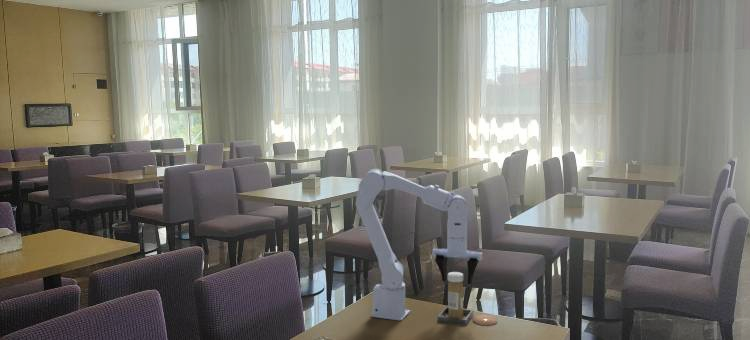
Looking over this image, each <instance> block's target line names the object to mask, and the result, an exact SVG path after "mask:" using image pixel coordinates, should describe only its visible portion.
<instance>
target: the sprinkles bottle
mask: <svg viewBox="0 0 750 340" xmlns="http://www.w3.org/2000/svg"><path fill="white" fill-rule="evenodd" d="M463 282H464V273H462V272H459V271H452V272H448V273H447V285H448V288H447V302H448V303H447V307H448V311H449V312H447V313H448V315H447V317H452V318H459V319H464V314H463V309H464V292H463V291H464V286H463V285H464V284H463Z"/></svg>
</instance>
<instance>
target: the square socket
mask: <svg viewBox="0 0 750 340" xmlns="http://www.w3.org/2000/svg"><path fill="white" fill-rule="evenodd" d="M448 312H449V311H448V306H445V307H444V308H443V309H442V310H441V312H440V313H438V315H437V322H441V323H446V324H447V323H448V324H454V325H461V326H462V325H463V326H467V324H469V322H470V320H471V318H473V317H474V310H473V309H468V308H463V316H465V315H466V317H465V318H463V319H459V318H452V317H448V316H446V314H447V313H448Z"/></svg>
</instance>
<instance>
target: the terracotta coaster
mask: <svg viewBox="0 0 750 340" xmlns="http://www.w3.org/2000/svg"><path fill="white" fill-rule="evenodd" d="M472 322H473V323H474V324H477V325H481V326H493V325H496V324H497V323H498V318H497V316H494V315H490V314H477V315H473V316H472Z"/></svg>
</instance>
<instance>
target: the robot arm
mask: <svg viewBox="0 0 750 340" xmlns="http://www.w3.org/2000/svg"><path fill="white" fill-rule="evenodd" d="M383 188H384V191H389V190H393V189H395V190H399V191H402V192H404V193H408V194H410V195H412V196H416V197H419V198H420V199H421V202H422V204H424V205H426V206H427V205H428V206H430V207H433V208H435V209H438V210H439V211H442V212H447V221H446V224H447V225H446V226H447V229H446V230H447V231H446V232H447V233H446V235H447V236H446V237H447V239H446V240H447V245H446V246H447V247H446V248H433V249H432V257H435V259H434V261H435V263H436V266H437V267H438V270H439V272H440V275H441V280H442V282H446V281H448V273H447V269H448V268H447V267H448V265H447V264H448V258H452V259H453V258H455V259H465V260H466V259H467V261H466V262H467V285H471V284H472V283H473V277H474V274H475V270H476V268H477V266H478V264H479V262H480V261H483V252H481V251H474V250H468V221H467V217H468V216H467V213H468V211H469V206H468V203H467V201H466V199H465V197H464V196H462V195H460V193H455V192H454V191H448V190H445V189H443V188H440V185H438V184H434V185H432V184H429V185H427V186H422V185H420V184H419V183H416V182H413V181H411V180H410V179H407V178H404V177H401V176H399V175H397V174H395V173H392V172H389V171H386V170H385V171H383V170H381V169H380V168H372V169H371V168H370V169H369V170H368V171H367V172H366V173H365V175H363V177H362V179H361V181H360V183H359V184H358V190H357V195H356V200H355V207H356V209H357V211H358V214H359V216H360V219H361V221H362V224H363V227H364V229H365V231H366V234H367V235H368V239H369V241H370V243H371V245H372V249H373V250H374V253H375V256H376V258H377V262H378V266H379V270H380V272H381V283H380V284H377V283H376V285H375V286H374V287H373V289H372V314H371V317H372V318H379V319H386V320H393V321H394V320H395V321H403V320H404V319H405V318H406V316H408V315H409V314H410V312H411V310H409V309H406V283H405V282H404V273H405V270H404V269H405V268H404V265H403V264H402V263H401V262H400V261H399V260H398V258H397V256H396V254H395V253H394V252H393V250H392V247H391V245H390V242H389V240H388V238H387V237H388V236H387V235H386V233H385V230H384V227H383V225H382V223H381V220H380V218H379V216H378V213H377V210H376V208H375V205H374V201H375V200H376V197H377V196H378V194H379V193H380V192H381V191H382V190H383Z"/></svg>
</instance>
